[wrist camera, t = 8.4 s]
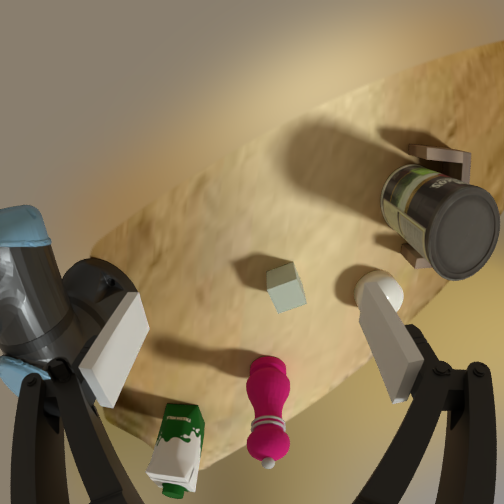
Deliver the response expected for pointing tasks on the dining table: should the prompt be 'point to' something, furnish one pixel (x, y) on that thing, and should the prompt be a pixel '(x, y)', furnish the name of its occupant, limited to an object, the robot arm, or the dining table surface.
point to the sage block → (285, 288)
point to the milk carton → (178, 450)
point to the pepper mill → (268, 410)
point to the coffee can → (442, 219)
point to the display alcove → (453, 166)
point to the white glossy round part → (387, 286)
